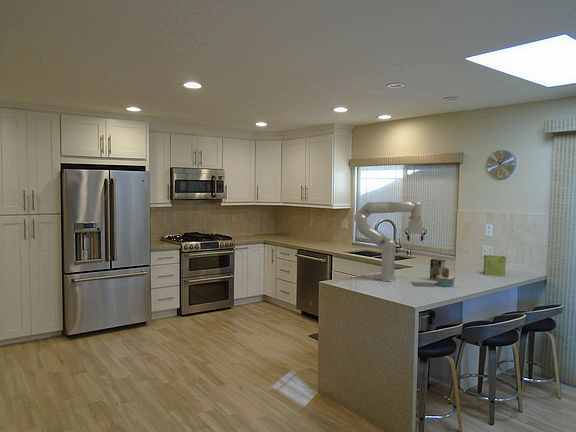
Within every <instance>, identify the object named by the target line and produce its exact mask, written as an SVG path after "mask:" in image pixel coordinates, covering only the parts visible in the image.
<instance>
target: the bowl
mask: <svg viewBox="0 0 576 432" xmlns="http://www.w3.org/2000/svg"><path fill="white" fill-rule="evenodd" d="M436 285H437V286H439V287H443V288H453V287H454V285H455V279H451V280H448V279H439V278H437V281H436Z"/></svg>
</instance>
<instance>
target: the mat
mask: <svg viewBox="0 0 576 432" xmlns="http://www.w3.org/2000/svg"><path fill="white" fill-rule="evenodd" d="M409 283H410V285H412V286H413V287H420V288H421V287H422V288H423V287H424V288H436V286H435V285H434V284H433V283H431V282H422V281H410V282H409Z"/></svg>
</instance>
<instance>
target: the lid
mask: <svg viewBox="0 0 576 432" xmlns="http://www.w3.org/2000/svg"><path fill="white" fill-rule="evenodd" d="M436 278H439V279H448V280H451V279H454V280H455V279H456V277H455V276H454V275H450V268H448V267H445V268H443V269H442V275H436Z"/></svg>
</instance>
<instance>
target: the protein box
mask: <svg viewBox="0 0 576 432" xmlns="http://www.w3.org/2000/svg"><path fill="white" fill-rule="evenodd" d="M506 260H507V259H506V256H504V255H492V254H491V255H489V254H486V255H485V254H484V257H483V275H484V276H491V277H503V276H504V277H506Z"/></svg>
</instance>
